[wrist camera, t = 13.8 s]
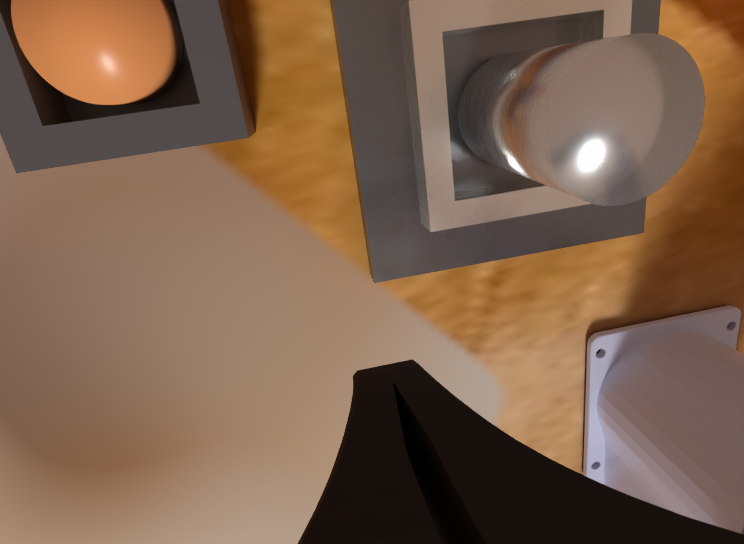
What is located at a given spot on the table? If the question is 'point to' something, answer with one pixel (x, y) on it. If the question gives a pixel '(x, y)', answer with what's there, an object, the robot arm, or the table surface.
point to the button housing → (128, 121)
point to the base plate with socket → (442, 133)
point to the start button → (101, 47)
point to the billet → (588, 115)
